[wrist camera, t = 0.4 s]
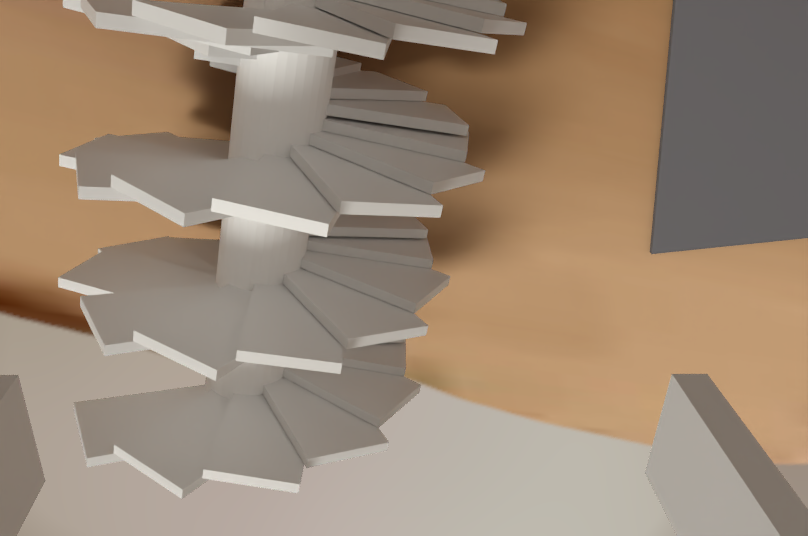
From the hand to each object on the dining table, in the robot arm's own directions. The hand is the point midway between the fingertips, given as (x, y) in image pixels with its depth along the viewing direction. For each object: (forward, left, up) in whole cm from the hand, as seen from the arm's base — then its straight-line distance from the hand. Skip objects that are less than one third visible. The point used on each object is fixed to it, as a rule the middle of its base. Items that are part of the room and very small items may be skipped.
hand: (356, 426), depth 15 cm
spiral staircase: (+1, -3, -28) cm, 28 cm away
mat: (+4, +27, -28) cm, 38 cm away
